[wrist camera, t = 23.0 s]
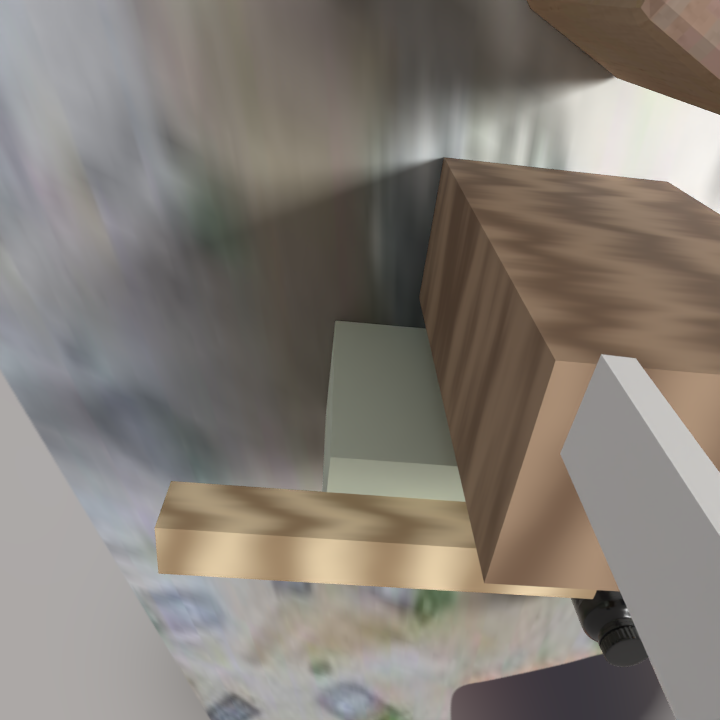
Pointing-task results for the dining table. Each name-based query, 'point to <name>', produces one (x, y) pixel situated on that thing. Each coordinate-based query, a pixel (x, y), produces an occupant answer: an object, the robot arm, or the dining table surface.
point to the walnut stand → (560, 341)
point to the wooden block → (647, 42)
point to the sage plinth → (387, 417)
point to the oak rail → (324, 539)
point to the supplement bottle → (611, 627)
